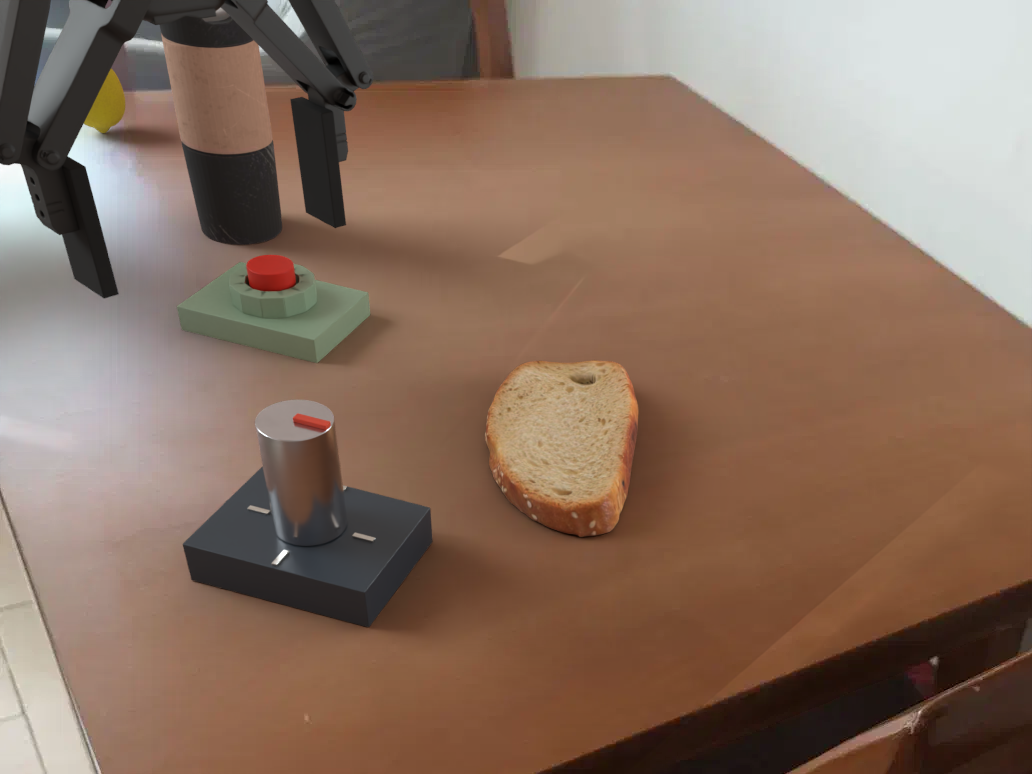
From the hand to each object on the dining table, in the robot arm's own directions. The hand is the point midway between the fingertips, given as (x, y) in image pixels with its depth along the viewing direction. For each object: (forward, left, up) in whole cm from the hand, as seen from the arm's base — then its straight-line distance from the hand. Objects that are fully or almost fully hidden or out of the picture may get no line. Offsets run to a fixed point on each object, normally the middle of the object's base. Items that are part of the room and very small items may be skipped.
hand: (219, 251), depth 61 cm
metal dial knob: (+3, -1, -18) cm, 18 cm away
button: (-15, +25, -17) cm, 34 cm away
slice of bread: (+14, +18, -21) cm, 31 cm away
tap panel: (+3, -1, -21) cm, 21 cm away
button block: (-15, +25, -21) cm, 36 cm away
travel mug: (-27, +39, -21) cm, 52 cm away
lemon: (-51, +52, -21) cm, 76 cm away
